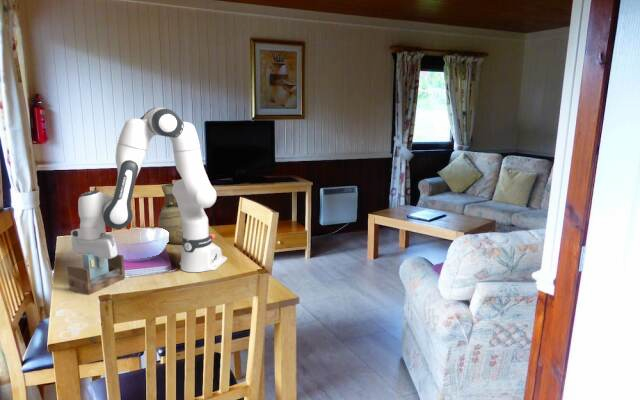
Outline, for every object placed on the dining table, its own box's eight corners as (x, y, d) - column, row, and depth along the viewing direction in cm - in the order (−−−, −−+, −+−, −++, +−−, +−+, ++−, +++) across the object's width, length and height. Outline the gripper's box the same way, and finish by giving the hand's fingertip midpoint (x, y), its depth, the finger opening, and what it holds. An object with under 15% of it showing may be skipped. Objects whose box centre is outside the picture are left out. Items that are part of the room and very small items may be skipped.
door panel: (103, 271, 187) (101, 248, 185) (109, 272, 186) (107, 249, 184) (84, 278, 179) (82, 254, 177) (91, 280, 178) (89, 255, 176)
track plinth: (106, 274, 194) (104, 252, 192) (125, 278, 190) (123, 255, 188) (69, 290, 177) (67, 266, 175) (89, 294, 174) (86, 269, 172)
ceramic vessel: (207, 238, 246) (205, 183, 240) (177, 248, 228) (174, 189, 222) (182, 233, 256) (179, 180, 249) (151, 242, 238) (147, 186, 231)
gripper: (119, 233, 178) (122, 267, 181) (81, 227, 186) (84, 259, 188) (107, 237, 172) (109, 272, 175) (67, 231, 180) (70, 264, 183)
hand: (96, 265), depth 182 cm, fingers closed on door panel, 3 cm apart
